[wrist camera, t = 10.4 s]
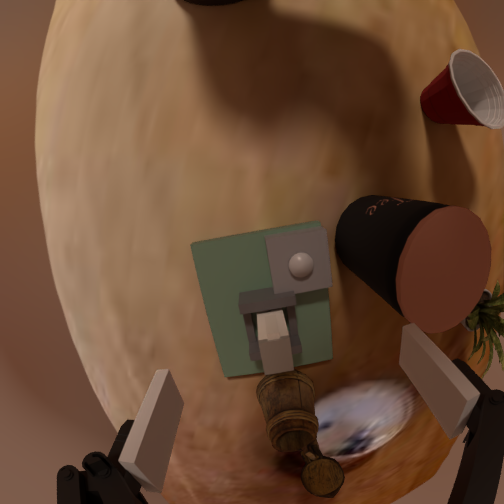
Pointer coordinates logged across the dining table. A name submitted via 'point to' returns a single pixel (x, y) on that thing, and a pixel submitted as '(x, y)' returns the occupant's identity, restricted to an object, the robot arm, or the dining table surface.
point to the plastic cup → (465, 93)
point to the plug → (274, 341)
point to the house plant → (487, 323)
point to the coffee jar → (417, 257)
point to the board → (266, 292)
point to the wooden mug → (298, 428)
